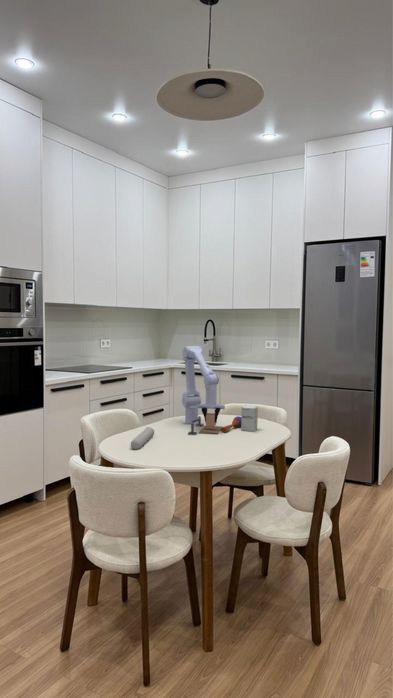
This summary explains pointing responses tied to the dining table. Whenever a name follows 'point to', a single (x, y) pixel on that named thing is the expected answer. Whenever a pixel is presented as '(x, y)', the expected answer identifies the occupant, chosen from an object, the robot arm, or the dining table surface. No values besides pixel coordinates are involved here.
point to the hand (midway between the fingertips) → (210, 422)
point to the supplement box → (249, 418)
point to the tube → (142, 438)
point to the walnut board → (210, 430)
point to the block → (210, 419)
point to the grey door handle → (195, 425)
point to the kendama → (235, 423)
